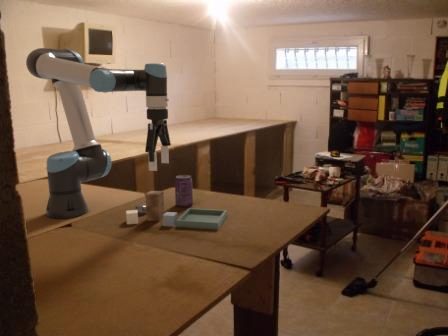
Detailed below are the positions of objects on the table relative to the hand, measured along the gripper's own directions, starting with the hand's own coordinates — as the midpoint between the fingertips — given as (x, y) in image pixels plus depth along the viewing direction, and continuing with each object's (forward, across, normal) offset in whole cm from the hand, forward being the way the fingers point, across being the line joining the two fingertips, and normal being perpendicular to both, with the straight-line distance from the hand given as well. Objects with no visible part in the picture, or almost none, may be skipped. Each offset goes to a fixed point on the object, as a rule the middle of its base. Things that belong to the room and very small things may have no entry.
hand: (159, 166), depth 158 cm
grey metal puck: (+20, +4, +9) cm, 22 cm away
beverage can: (+20, +16, -4) cm, 26 cm away
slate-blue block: (+19, -8, -6) cm, 22 cm away
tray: (+19, -3, -17) cm, 25 cm away
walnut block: (+19, -2, +1) cm, 19 cm away
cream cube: (+19, -7, +8) cm, 22 cm away
